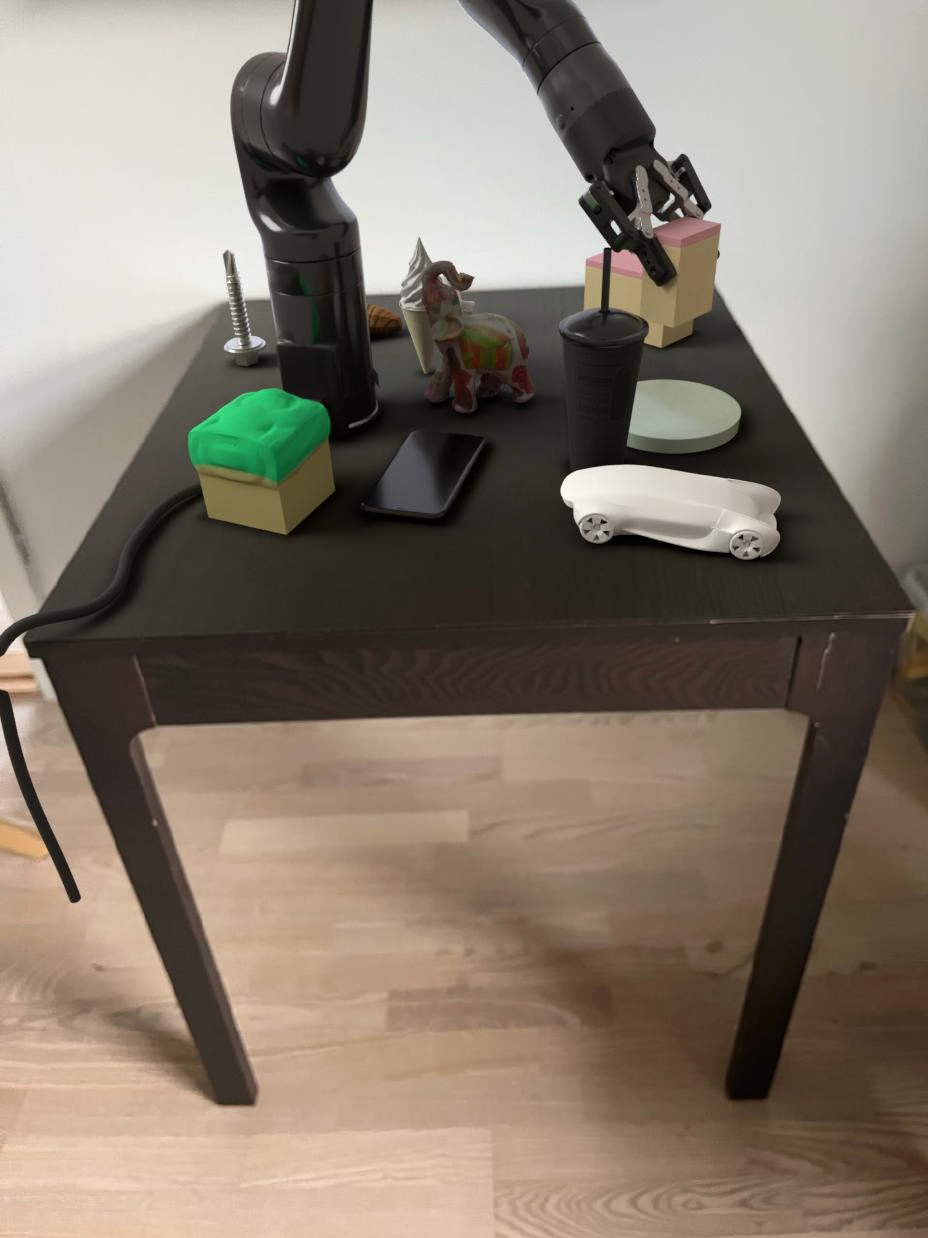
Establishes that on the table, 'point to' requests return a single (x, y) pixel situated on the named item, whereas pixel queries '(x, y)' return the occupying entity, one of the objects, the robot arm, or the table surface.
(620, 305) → the cake
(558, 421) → the table surface
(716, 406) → the plate
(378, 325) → the croissant
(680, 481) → the toy car
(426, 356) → the ice cream cone
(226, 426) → the cake
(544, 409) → the table surface
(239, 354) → the screw
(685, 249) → the cake slice
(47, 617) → the robot arm
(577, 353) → the drinking cup
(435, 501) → the smartphone
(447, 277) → the figurine
